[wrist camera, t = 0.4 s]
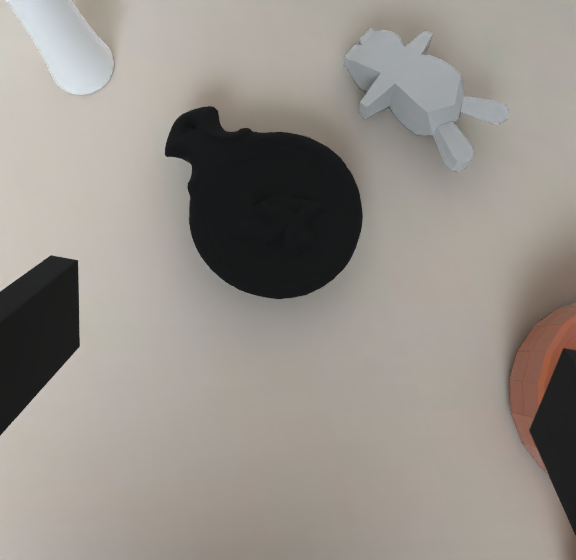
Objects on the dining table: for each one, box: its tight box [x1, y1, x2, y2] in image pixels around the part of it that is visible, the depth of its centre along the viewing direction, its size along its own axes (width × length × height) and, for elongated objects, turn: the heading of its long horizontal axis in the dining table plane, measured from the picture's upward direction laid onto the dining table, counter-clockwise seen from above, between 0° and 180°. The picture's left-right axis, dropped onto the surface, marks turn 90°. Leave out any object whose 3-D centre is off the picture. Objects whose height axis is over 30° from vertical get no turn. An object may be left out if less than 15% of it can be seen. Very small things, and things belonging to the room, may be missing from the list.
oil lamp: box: [165, 106, 362, 299], centre depth 48 cm, size 15×20×5 cm
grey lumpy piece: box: [343, 28, 509, 172], centre depth 50 cm, size 10×5×15 cm
